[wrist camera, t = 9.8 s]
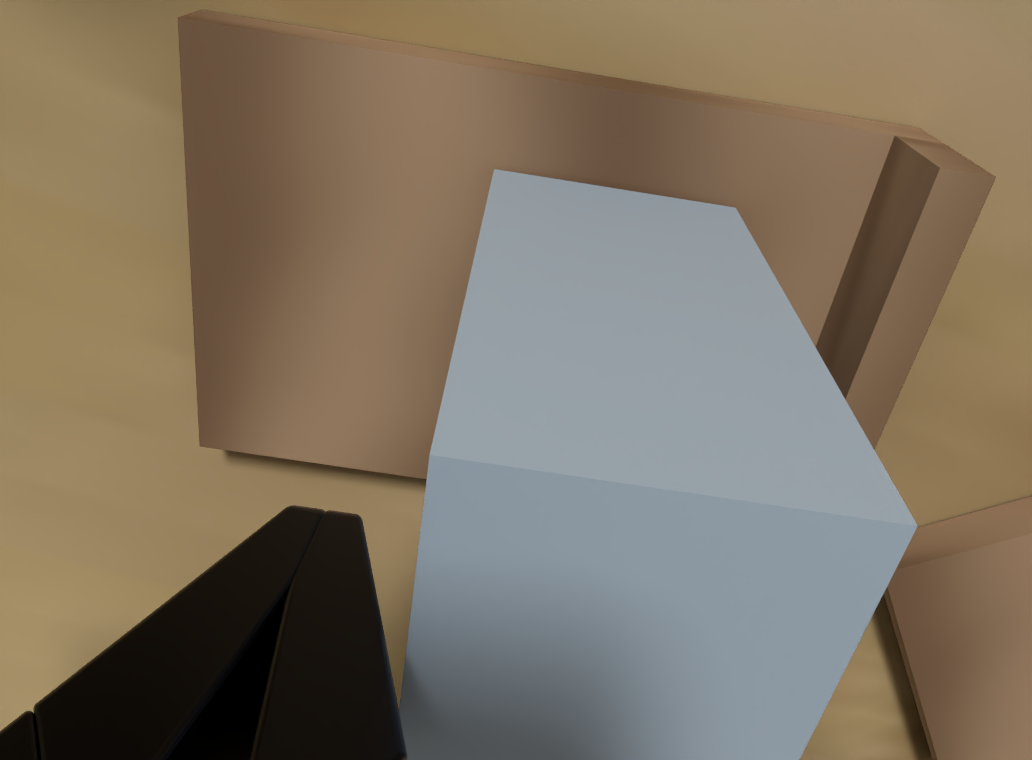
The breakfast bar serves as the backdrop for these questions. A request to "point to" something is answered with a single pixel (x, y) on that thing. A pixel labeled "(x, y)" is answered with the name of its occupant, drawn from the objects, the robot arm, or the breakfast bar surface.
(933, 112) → the breakfast bar surface
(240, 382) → the plinth
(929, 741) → the plinth
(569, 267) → the blue block
